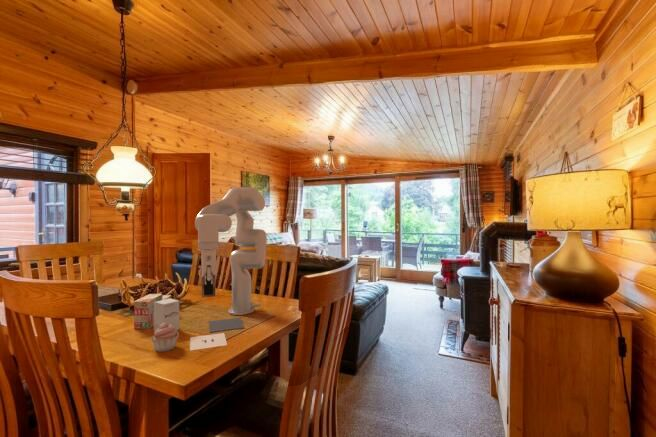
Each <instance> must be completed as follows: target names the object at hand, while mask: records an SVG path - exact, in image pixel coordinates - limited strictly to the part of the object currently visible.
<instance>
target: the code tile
mask: <svg viewBox="0 0 656 437" xmlns="http://www.w3.org/2000/svg"><path fill="white" fill-rule="evenodd" d="M226 338H227V337H226V335H225V333H224V332H220V333H213V334H207V335H199V336H198V335H197V336H193V337H190V338H189V351H196V350H197V351H198V350H203V349H210V348H217V347H222V346H223V347H224V346H228V343H227V339H226Z"/></svg>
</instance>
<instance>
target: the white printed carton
mask: <svg viewBox="0 0 656 437" xmlns="http://www.w3.org/2000/svg"><path fill="white" fill-rule="evenodd" d="M165 299H173V298H172V295H171V294H166V295H165V294H163V293H149V294H146V295H144V296H142V297H141V298H139V299H136V300H135V301H133V306H134V308H133V315H134V316H133V322H134V323H133V325H134V326H133V328H134V329H133V330H146V329H147V330H149V329H150V328H152V327H154V302H157V301H161V300H165Z"/></svg>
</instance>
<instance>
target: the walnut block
mask: <svg viewBox="0 0 656 437" xmlns="http://www.w3.org/2000/svg"><path fill="white" fill-rule="evenodd" d="M200 275H201V276H200V280H201V282H200V283H201V284H200V285H201V286H200V287H201V288H200V289H201V290H200V292H201V298H212V297H214V298H215V297H216V276H214V275H213V274H212V276H213V277H212V280H213V294H212V295H204V284H205V277H204V276H203V273H202V274H200ZM206 276H207V275H206ZM206 279H207V278H206Z"/></svg>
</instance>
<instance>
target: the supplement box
mask: <svg viewBox="0 0 656 437" xmlns="http://www.w3.org/2000/svg"><path fill="white" fill-rule="evenodd" d="M165 322H167V323H168V324H171V325H173V326H174V328H175V329H176V330H177V331H178V330H180V300H179V299H174V298H172V299H165V300H161V301H157V302H154V326H153V332H155V331H156V330H157V329H158V328H159V326H160V325H161V324H162V323H165Z"/></svg>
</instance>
